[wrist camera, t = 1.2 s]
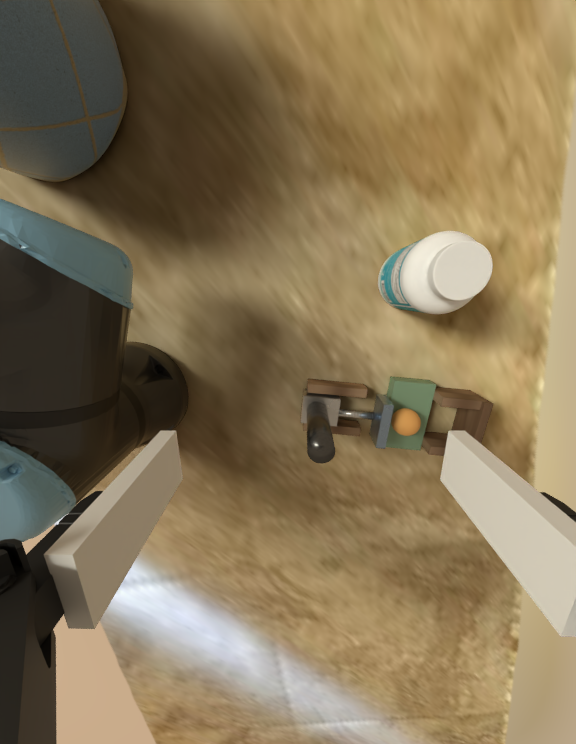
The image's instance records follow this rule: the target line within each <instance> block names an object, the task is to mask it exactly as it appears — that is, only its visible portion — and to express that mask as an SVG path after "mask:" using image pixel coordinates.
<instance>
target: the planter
mask: <svg viewBox="0 0 576 744" xmlns="http://www.w3.org/2000/svg"><path fill="white" fill-rule="evenodd" d="M127 96H128V87H127V81H126V77H125V74H124V70H123V67H122V63H121V60H120V56H119V52H118V48H117V45H116V41H115V38H114V35H113V32H112V29H111V27H110V24H109V22H108V19H107V17H106V15H105V13H104V11H103V9H102V7H101V5H100V3H99V1H98V0H0V167H1V168H4V169H6V170H9V171H12V172H15V173H17V174H21V175H24V176H28V177H32V178H35V179H39V180H44V181H50V182H61V181H65V180H68V179H70V178H73V177H75V176H77V175H79V174H81V173H82V172H84V171H85V170H87V169H88V168H90V167H91V166H92V165H93V164H94V163H95V162H96V161H97V160H98V159H99V158H100V157H101V156H102V155H103V154H104V152H105V151H106V149H107V148H108V146H109V145H110V143H111V141H112V140H113V138H114V136H115V134H116V132H117V130H118V127H119V125H120V123H121V120H122V117H123V114H124V111H125V108H126V103H127Z"/></svg>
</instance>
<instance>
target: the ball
mask: <svg viewBox="0 0 576 744" xmlns="http://www.w3.org/2000/svg"><path fill="white" fill-rule="evenodd" d="M391 423H392V427H393V428H394V430H395V431H396V432H397V433H399V434H401V435H404V436H410V435H413V434H415V433H416V432H417V431H418V430H419V429H420V426H421V420H420V417H419V416H418V414H417V413H416V412H415V411H413V410H411V409H407V408H403V409H399V410H397V411H396V412H395V413H394V414H393V416H392V419H391Z"/></svg>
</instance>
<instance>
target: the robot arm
mask: <svg viewBox="0 0 576 744" xmlns="http://www.w3.org/2000/svg"><path fill="white" fill-rule="evenodd" d="M132 278H133V268H132V264H131V262H130V260H129V258H128V257H127V255H126V254H125V253H124V252H123V251H122V250H121V249H119V248H118V247H116V246H114V245H112V244H110V243H108V242H106V241H103V240H101V239H99V238H96V237H94V236H92V235H89V234H87V233H84V232H82V231H80V230H77V229H75V228H72V227H70V226H67V225H65V224H63V223H60V222H58V221H55V220H53V219H50V218H48V217H45V216H43V215H40V214H38V213H35V212H33V211H30V210H28V209H25V208H23V207H20V206H18V205H15V204H13V203H10V202H8V201H5V200H2V199H0V744H56V644H55V643H56V637H55V634H54V631H53V628H54V627H55V625H56V624H57V623H58V621H59V620H60V618H61V617H62V616H63V614H64V616H65V619H66V622H67V625H68V628H78V629H79V628H81V629H95V627H96V626H97V624H98V622H99V621H100V619H101V617H102V615H103V614H104V612H105V610H106V609H107V607H108V605H109V604H110V602H111V600H112V598H113V597H114V595H115V593H116V592H117V590H118V588H119V587H120V585H121V583H122V581H123V580H124V578H125V576H126V575H127V573H128V571H129V570H130V568H131V566H132V564H133V563H134V561H135V559H136V558H137V556H138V554H139V552H140V551H141V549H142V547H143V546H144V544H145V542H146V541H147V539H148V537H149V535H150V534H151V532H152V530H153V529H154V527H155V525H156V524H157V522H158V520H159V518H160V517H161V515H162V513H163V512H164V510H165V508H166V507H167V505H168V503H169V501H170V500H171V498H172V496H173V495H174V493H175V491H176V489H177V488H178V486H179V484H180V483H181V481H182V479H183V476H182V468H181V461H180V454H179V447H178V440H177V433H176V431H172V430H173V429H174V428H175V427H176V426H177V425H178V424H179V423H180V421H181V420H182V418H183V417H184V415H185V412H186V409H187V405H188V389H187V385H186V382H185V379H184V377H183V375H182V373H181V371H180V370H179V368H178V367H177V365H176V364H175V363H174V362H173V361H172V360H171V359H170V358H169V357H168V356H167V355H166V354H164V353H163V352H162V351H160V350H158V349H156V348H154V347H152V346H150V345H147V344H143V343H139V342H126V341H127V333H128V326H129V319H130V311H131V309H133V303H132V302H131V293H132ZM146 444H148V445H147V446H146V447H145V448H144V449H143V450H142V451H141V452H140V453H139V454H138V455H137V456H136V457H135V458H134V459H133V460H132V462H131V463H130V464H129V465H128V466H127V467H126V468H125V469H124V470H123V471H122V472H121V473H120V474H119V475H118V476H117V477H116V478H115V480H114V481H113V482H112V483H111V484H110V485H109V486H108V487H107V488H106V489H105V490H104V491H95V492H94V493H92V494H91V495H89V496H88V497H86V498H85V499H83V500H81V499H82V498H83V497H84V496H85V495H86V494H87V493H88V492H89V491H91V490H92V489H93V488H94V487H95V486H96V485H97V484H98V483H99V482H100V481H101V480H102V479H103V478H104V477H105V476H106V475H107V474H109V473H110V472H111V471H112V470H113V469H114V468H115V467H116V466H117V465H118V464H119V463H120V462H121V461H122V460H123V459H124V458H126V457H127V456H128V455H129V454H130V453H131V452H132V451H133V450H134V449H136V448H138V447H141V446H144V445H146ZM440 480H441V481H442V483H443V484H444V485H445V487H446V488H447V489H448V490H449V492H450V493H451V494H452V496H453V497H454V498H455V500H456V501H457V502H458V503H459V505H460V506H461V507H462V509H463V510H464V511H465V513H466V514H467V515H468V517H469V518H470V519H471V520H472V522H473V523H474V524H475V526H476V527H477V528H478V530H479V531H480V532H481V533H482V535H483V536H484V537H485V539H486V540H487V541H488V543H489V544H490V545H491V546H492V548H493V549H494V550H495V552H496V553H497V554H498V556H499V557H500V558H501V559H502V561H503V562H504V563H505V565H506V566H507V567H508V569H509V570H510V571H511V572H512V574H513V575H514V576H515V578H516V579H517V580H518V582H519V583H520V584H521V585H522V587H523V588H524V589H525V591H526V592H527V593H528V595H529V596H530V597H531V598H532V600H533V601H534V602H535V603H536V605H537V606H538V608H539V609H540V610H541V612H542V613H543V614H544V615H545V617H546V618H547V619H548V621H549V622H550V623H551V625H552V626H553V627H554V628H555V630H556V631H557V632H558V634H559V635H560V636H562V637H564V636H565V637H576V512H574V511H573V510H572V509H571V508H569V507H568V506H567V505H565V504H564V503H563V502H561V501H559V500H557V499H555V498H554V497H552V496H550V495H548V494H546V493H544V492H543V493H542V492H538V491H537V490H536V489H535V488H534V487H532V486H531V485H530V484H529V483H528V482H526V481H525V480H524V479H523V478H521V477H520V476H519V475H518V474H517V473H515V472H514V471H513V470H512V469H511V468H509V467H508V466H507V465H506V464H505V463H503V462H502V461H501V460H500V459H498V458H497V457H496V456H495V455H494V454H492V453H491V452H490V451H489V450H488V449H486V448H485V447H484V446H483V445H482V444H480V443H479V442H478V441H477V440H476V439H474V438H473V437H472V436H471V435H469V434H468V433H467V432H466V431H448V436H447V442H446V448H445V454H444V460H443V466H442V471H441V477H440ZM80 500H81V501H80ZM79 501H80V502H79ZM78 502H79V503H78ZM77 503H78V504H77ZM76 504H77V505H76ZM75 505H76V506H75ZM68 513H69V514H68ZM66 514H68V515H66ZM64 515H66V516H65V517H64V518H63V519H62V520H61V521H60V522H59V524H58V525H56V526H55V527H54V528H53V529H52V530H51V531H50V532H49V533H48V534H47V535H46V536H45V537H44V538H43V539H42V540H41V541H40V542H39V543H38V544H37V545H36V546H35V547H34V548H33V549H32V550H31V551H30V552H29V553H28V554H27V555H26V553H25V551H24V548H23V545H22V542H24V541H26V540H28V539H31V538H34V537H36V536H38V535H39V534H41V533H42V532H44V531H45V530H46V529H48V528H49V527H50V526H52V525H53V524H54V523H56V522H57V521H58V520H59V519H61V518H62V517H63V516H64Z"/></svg>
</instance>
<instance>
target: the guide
mask: <svg viewBox="0 0 576 744" xmlns="http://www.w3.org/2000/svg"><path fill="white" fill-rule="evenodd" d="M367 391H368V390H367V388H366V386H365V385H364V384H357V383H347V382H337V381H326V380H316V379H308V384H307V392H309V393H319V394H329V395H340V396H350V397H360V398H366V397H367ZM330 427H331V432H332V434H342V435H352V436H360V431H361V428H360V425H359V423H358V421H353V420H343V419H338V422H337V426H330ZM303 431H307V423H303Z"/></svg>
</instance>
